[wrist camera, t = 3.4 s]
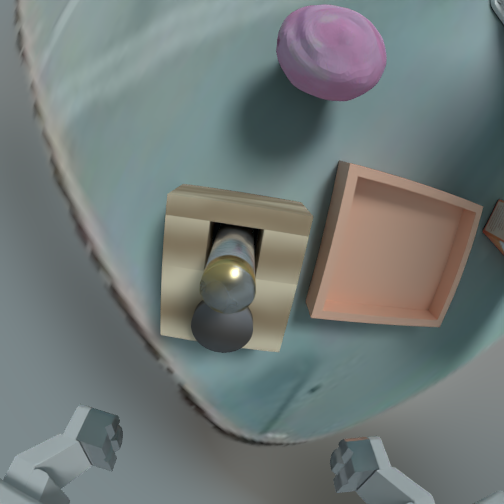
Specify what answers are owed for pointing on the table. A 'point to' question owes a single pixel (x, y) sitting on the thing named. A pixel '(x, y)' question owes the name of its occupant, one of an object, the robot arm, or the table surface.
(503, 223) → the cracker box
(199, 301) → the block
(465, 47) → the table surface
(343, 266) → the tray
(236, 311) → the pin
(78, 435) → the robot arm
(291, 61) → the cupcake
